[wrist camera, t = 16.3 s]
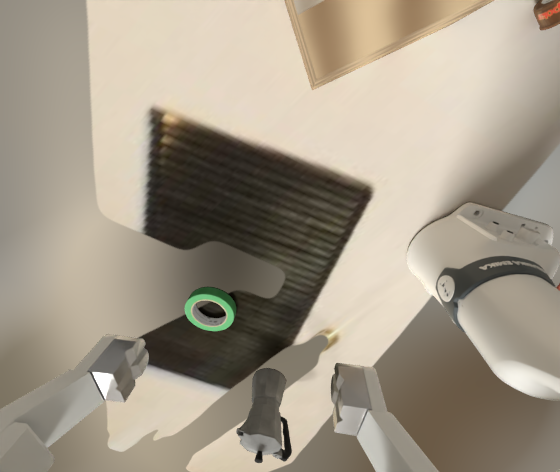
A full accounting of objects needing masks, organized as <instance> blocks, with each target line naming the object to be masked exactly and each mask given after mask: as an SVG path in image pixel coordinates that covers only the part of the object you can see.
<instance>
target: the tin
mask: <svg viewBox="0 0 560 472" xmlns="http://www.w3.org/2000/svg"><path fill="white" fill-rule="evenodd" d="M534 14H535V17H536V19H537V21H538V23H539V25H540V30H546V29H549V28H552V27H554V26H556V25H558V24H560V0H540V1H539V2H538V3H537V4H536V5H535V7H534Z"/></svg>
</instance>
